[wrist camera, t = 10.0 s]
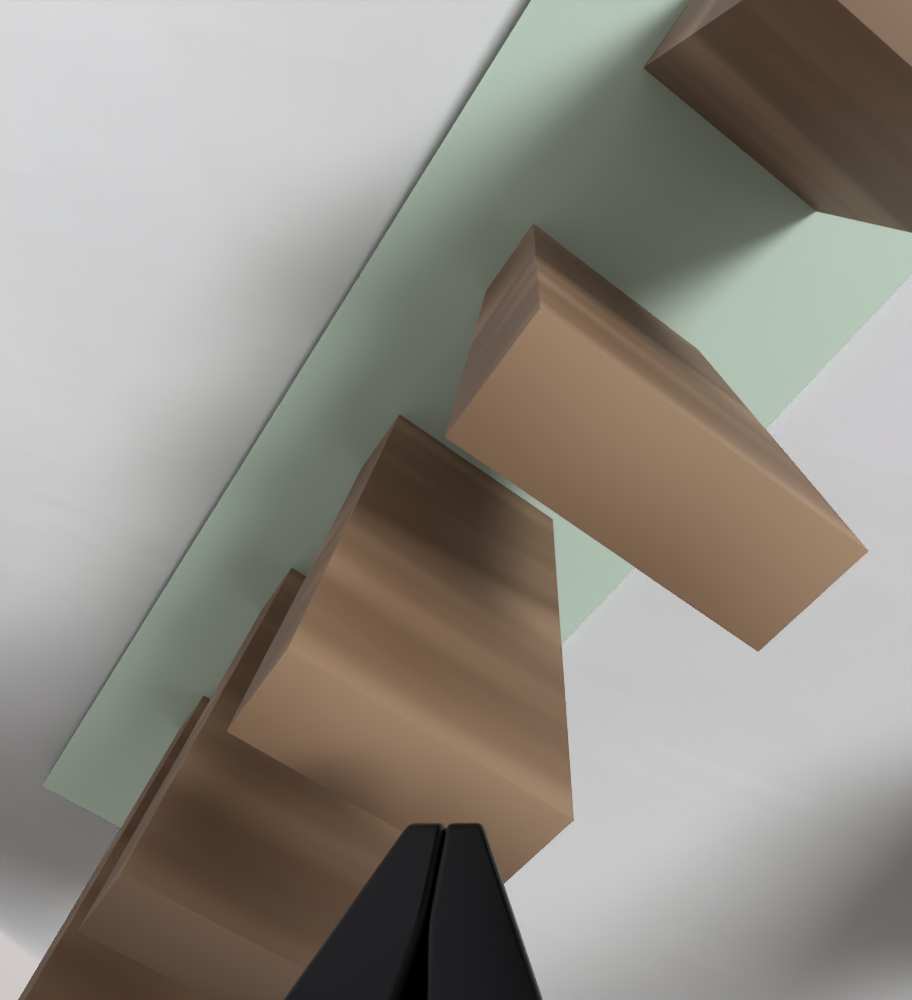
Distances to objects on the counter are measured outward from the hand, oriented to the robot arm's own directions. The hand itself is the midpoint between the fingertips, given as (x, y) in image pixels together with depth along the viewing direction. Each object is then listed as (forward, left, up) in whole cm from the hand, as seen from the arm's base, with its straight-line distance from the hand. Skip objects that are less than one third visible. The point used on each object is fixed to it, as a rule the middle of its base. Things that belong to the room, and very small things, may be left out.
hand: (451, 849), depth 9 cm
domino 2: (0, -4, -12) cm, 13 cm away
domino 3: (0, +1, -12) cm, 12 cm away
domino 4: (0, +7, -12) cm, 14 cm away
